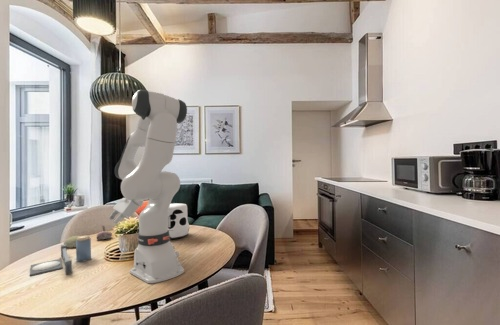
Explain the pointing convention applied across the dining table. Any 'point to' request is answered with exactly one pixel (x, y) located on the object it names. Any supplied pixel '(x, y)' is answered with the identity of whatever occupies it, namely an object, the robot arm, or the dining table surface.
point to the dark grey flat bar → (66, 260)
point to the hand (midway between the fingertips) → (112, 220)
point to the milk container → (177, 220)
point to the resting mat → (45, 267)
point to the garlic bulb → (104, 234)
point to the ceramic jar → (83, 248)
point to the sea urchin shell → (71, 241)
